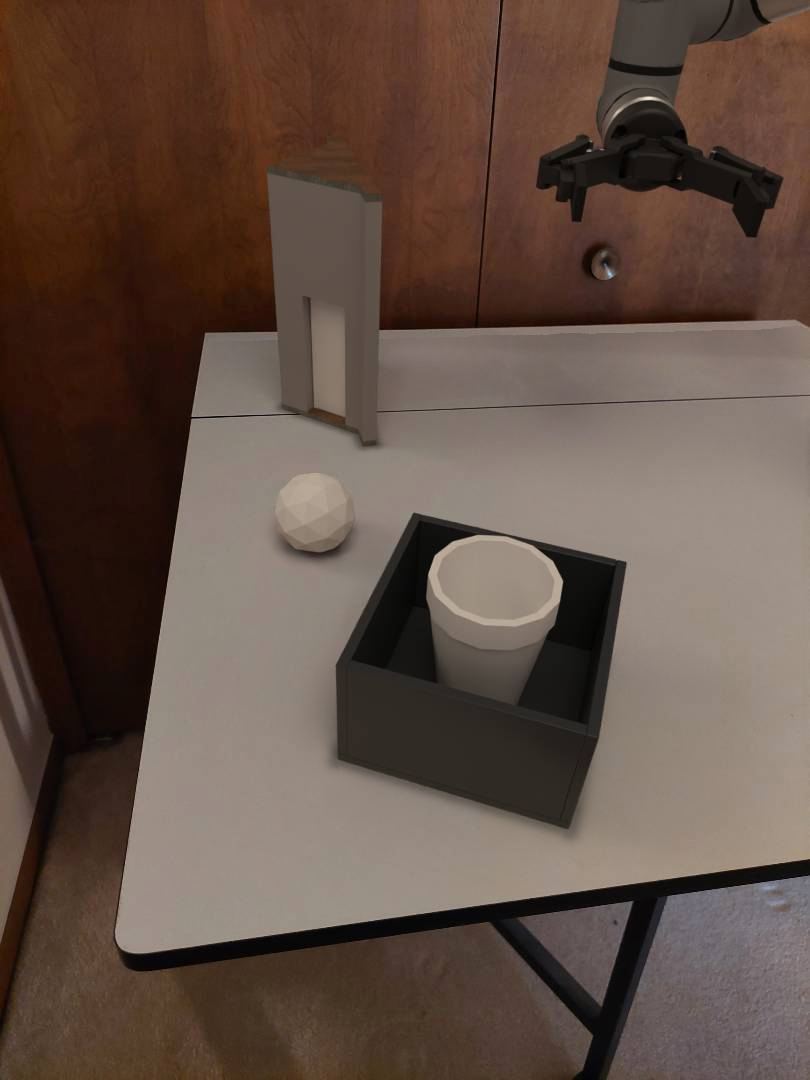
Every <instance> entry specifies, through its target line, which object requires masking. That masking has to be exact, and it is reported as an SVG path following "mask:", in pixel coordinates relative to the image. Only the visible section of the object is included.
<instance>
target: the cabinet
mask: <svg viewBox="0 0 810 1080" xmlns="http://www.w3.org/2000/svg"><path fill="white" fill-rule="evenodd" d="M326 141H327V143H325V144H323V145H320V146H317V147H315V148H312V149H310V150H306V151H303V152H302V153H298V154H296V155H294V156H290V157H287V158H285V159H282V160H279V161H277V162H274V163H271V164H269V165H266V177H267V193H268V208H269V209H268V210H269V222H270V224H269V225H270V239H271V254H272V269H273V270H272V271H273V284H274V285H273V286H274V287H273V288H274V299H275V301H274V302H275V316H276V317H275V319H276V332H277V333H276V334H277V346H278V361H279V362H278V363H279V364H278V365H279V379H280V393H281V394H280V395H281V408H282V410H286V411H289V412H292V413H295V414H297V415H301V416H304V417H307V418H310V419H313V420H316V421H319V422H321V423H325V424H327V425H332V426H333V427H336V428H339V429H342V430H345V431H349V432H351V433H354V434H357V435H358V437H359V439H360V442H361V444H362V447H367V446H376V445H377V439H378V438H377V436H378V435H377V434H378V433H377V432H378V395H379V394H378V393H379V392H378V391H379V354H380V353H379V351H380V315H381V313H380V310H381V309H380V308H381V269H382V234H383V233H382V232H383V231H382V229H383V193H382V192H381V190H380V189H379V188H378V186H377V185H376V183H375V181H374V180H373V179H372V177H371V176H370V175H369V173H368V172H367V170H366V169H365V167H364V166H363V164H362V163H361V161H360V160H359V159H358V157H357V155H356V154H355V153H354V152H353V150H352V149H351V147H350V146H349V144H348V143H347V142H346V140H345V139H344V137H343V136H342V135H327V138H326Z"/></svg>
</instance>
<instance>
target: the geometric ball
mask: <svg viewBox="0 0 810 1080" xmlns="http://www.w3.org/2000/svg"><path fill="white" fill-rule="evenodd" d="M273 512H274V520H275V525H276V529H277V532H278V533H279V535H280V536H282V538H284V539H285V540H286V541H287V543H288V544H290V545H291V546H292V547H293V549H295V550H299V551H305V552H313V553H320V554H321V553H325V552H326V551H330V550H334V549H335V548H336V547H338V546H339V545H340V544H341V543H343V542H344V541H345V539H346V538H347V536H348V535H349V533H350V532H351V529H352V526H353V525H354V523H355V521H356V511H355V504H354V498H353V493H352V492H351V491H350V490H349V489H348V488H347V487H345V485H344V484H342V482H341V481H339V480H338V479H337V477H335V476H334V475H329V474H325V473H322V472H309V473H303V474H297V475H295V476H294V477H293V478H291V479H290V481H288V482H287V483H286V485H284V486H283V487H282V489H280V490H279V492H278V495H277V498H276V502H275V505H274V511H273Z"/></svg>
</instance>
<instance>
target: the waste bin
mask: <svg viewBox="0 0 810 1080" xmlns="http://www.w3.org/2000/svg"><path fill="white" fill-rule="evenodd" d="M476 535H488V536H506V537H509V538H512V539H515V540H518V541H521V542H524V543H527V544H529V545H532V546H534V547H535V548H536V549H538V550H539V551H540V552H542V553H543V554H544V555H545V556H547V557H548V558H549V559H551V560H552V561H553V562H554V564H555V566H556V568H557V570H558V572H559V574H560V576H561V578H562V580H563V584H562V591H561V597H560V603H559V607H558V612H557V616H556V620H555V624H554V626H553V627H552V628H551V629H550V630H549V632H548V634H547V636H546V638H545V641H544V643H543V645H542V648H541V650H540V652H539V655H538V657H537V659H536V662H535V664H534V666H533V669H532V671H531V673H530V675H529V678H528V680H527V682H526V685H525V687H524V689H523V692H522V694H521V696H520V699H519V701H518V703H517V706H516V705H513V704H509V703H505V702H502V701H498V700H495V699H491V698H487V697H484V696H480V695H476V694H473V693H469V692H465V691H462V690H458V689H455V688H451V687H447V686H444V685H440V684H437V679H436V668H435V657H434V647H433V636H432V625H431V614H430V609H429V606H428V602H427V599H426V596H427V584H428V574H429V571H430V568H431V565H432V562H433V560H434V557H435V555H436V554H438V553H439V552H440V551H441V550H443V549H444V548H445V547H447V546H448V545H449V544H450V543H452V542H453V541H457V540H461V539H465V538H468V537H472V536H476ZM398 540H399V541H397V543H396V546H395V548H394V550H393V551H392V553H391V555H390V557H389V560H388V562H387V563H386V565H385V567H384V569H383V571H382V573H381V574H380V577H379V579H378V581H377V583H376V585H375V586H374V588H373V591H372V593H371V595H370V597H369V598H368V601H367V603H366V604H365V607H364V609H363V610H362V613H361V615H360V617H359V618H358V620H357V622H356V624H355V626H354V628H353V630H352V632H351V634H350V636H349V638H348V640H347V642H346V644H345V646H344V648H343V650H342V652H341V654H340V656H339V658H338V659H337V662H336V664H335V695H336V696H335V697H336V698H335V699H336V700H335V701H336V743H337V745H336V746H337V747H336V749H337V759H338V760H340V761H343V762H347V763H348V764H353V765H355V766H356V765H357V766H359V767H363V768H366V769H369V770H373V771H375V772H379V773H383V774H386V775H389V776H392V777H396V778H398V779H403V780H406V781H409V782H413V783H415V784H419V785H422V786H425V787H428V788H432V789H435V790H439V791H443V792H445V793H449V794H451V795H455V796H458V797H461V798H465V799H468V800H471V801H475V802H478V803H482V804H483V805H484V804H485V805H488V806H491V807H494V808H498V809H501V810H505V811H508V812H511V813H514V814H517V815H521V816H524V817H527V818H531V819H534V820H537V821H540V822H544V823H547V824H550V825H553V826H557V827H560V828H564V829H567V830H570V827H571V824H572V821H573V818H574V815H575V812H576V810H577V809H576V808H577V806H578V803H579V800H580V798H581V797H580V796H581V794H582V790H583V788H584V784H585V782H586V780H587V779H586V778H587V776H588V772H589V770H590V767H591V763H592V761H593V758H594V754H595V752H596V748H597V745H598V742H599V739H600V734H601V729H602V728H601V727H602V722H603V715H604V709H605V703H606V697H607V691H608V685H609V678H610V671H611V666H612V660H613V653H614V648H615V647H614V645H615V640H616V633H617V628H618V621H619V616H620V615H619V614H620V609H621V601H622V596H623V590H624V583H625V578H626V572H627V566H628V562H627V561H626V560H621V559H616V558H611V557H608V556H603V555H599V554H595V553H591V552H586V551H582V550H578V549H574V548H569V547H565V546H560V545H556V544H551V543H547V542H542V541H538V540H535V539H530V538H526V537H522V536H517V535H513V534H508V533H504V532H500V531H495V530H491V529H487V528H481V527H477V526H473V525H469V524H465V523H460V522H456V521H451V520H448V519H443V518H439V517H436V516H435V517H434V516H430V515H426V514H422V513H418V512H412V514H411V517H410V518H409V520H408V521H407V524H406V526H405V528H404V530H403V532H402V534H401V536H400V538H399V539H398Z"/></svg>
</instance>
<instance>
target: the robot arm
mask: <svg viewBox="0 0 810 1080" xmlns="http://www.w3.org/2000/svg"><path fill="white" fill-rule="evenodd" d="M807 11H810V0H618V5H617V11H616V16H615V17H616V18H615V22H614V23H615V24H614V30H613V35H612V41H611V47H610V53H609V59H608V64H607V68H606V73H605V79H604V85H603V90H602V92H601V94H600V96H599V98H598V101H597V109H596V111H595V123H596V129H597V132H598V135H599V137H600V140H601V145H594V143H595V140H593V139H590V136H589V135H587V134H584V133H581V134H578V135H576V136H575V139H574V140H573V141H571V142H568V143H566V144H565V145H562V146H560V147H558V148H556V149H553V150H551V151H549V152H547V153H544V154H542V155H540V156H539V161H538V169H537V176H536V181H535V187H536V189H538V190H543V191H544V190H545V191H546V190H548V189H551V188H553V187H556V192H555V199H554V201H555V202H558V203H563V204H564V203H565V204H566V203H568V201H569V203H570V204H569V205H570V217H571V218H570V219H571V222H573V223H582V220H583V215H584V209H585V204H586V199H587V194H588V193H587V192H588V188H592V187H596V186H599V185H602V184H608V185H611V186H620V187H621V188H623V189H624V190H627V191H630V192H634V193H635V192H636V193H647V192H651V191H654V190H656V189H659V188H661V187H663V186H664V187H668V188H671V189H674V190H676V191H678V192H685V191H691V190H692V191H695V192H698V193H701V194H703V195H706V196H710V197H711V198H715V199H717V200H720V201H722V202H725V203H727V204H730V205H732V208H731V212H732V213H733V215H734V217H735V219H736V220H737V222H738V224H739V226H740V228H741V230H742V231H743V233H744V235H745V237H746V238H755V239H756V238H757V237H758V234H759V231H760V228H761V225H762V222H763V218H764V215H765V212H766V210H772V209H774V208H775V207H776V203H777V200H778V196H779V194H780V191H781V189H782V186H783V185H782V184H783V182H784V179H785V178H784V176H782V175H781V174H779V173H776V172H774V171H771V170H770V169H768V168H767V167H766V166H760V165H758V164H755V163H754V162H751V161H749V160H747V159H745V158H743V157H740V156H739V155H736V154H734V153H732V152H731V151H730V150H729V149H728V148H726V147H724V146H723V145H715V146H713V147H712V149H711V150H710V152H709V154H704V152H703V150H702V149H701V148H698V147H696V146H692V145H689V142H688V141H689V140H688V139H689V138H688V134H687V130H686V127H685V125H684V124H683V122H682V120H681V117H680V115H679V114H678V112H677V110H676V109H675V103H676V98H677V93H678V89H679V84H680V80H681V75H682V73H683V71H684V70H683V69H684V65H685V61H686V58H687V53H688V48H689V46H694V45H701V44H706V43H712V42H730V41H733V40H738V39H741V38H744V37H746V36H748V35H750V34H753V33H754V32H756V31H757V30H758V29H760V28H762V27H766V26H768V25H770V24H772V23H775V22H778V21H781V20H784V19H787V18H790V17H793V16H796V15H798V14H801V13H804V12H807ZM679 178H680V179H679Z"/></svg>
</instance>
